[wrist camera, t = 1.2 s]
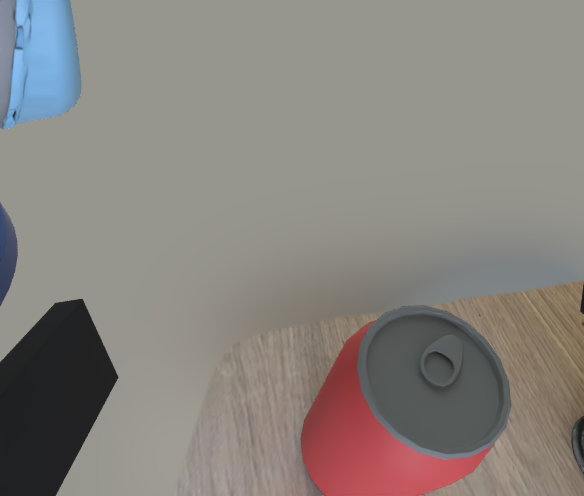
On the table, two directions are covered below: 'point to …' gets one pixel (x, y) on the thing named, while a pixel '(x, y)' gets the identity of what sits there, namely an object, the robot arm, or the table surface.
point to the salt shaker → (579, 442)
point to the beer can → (406, 407)
